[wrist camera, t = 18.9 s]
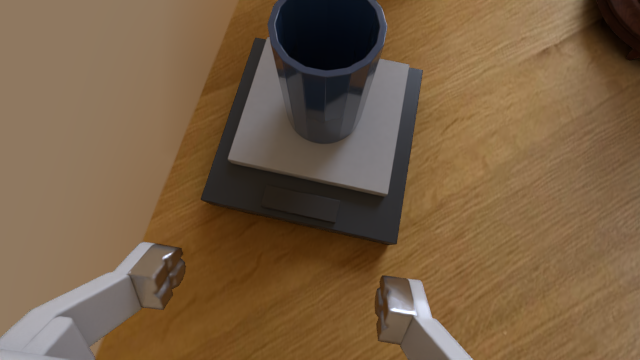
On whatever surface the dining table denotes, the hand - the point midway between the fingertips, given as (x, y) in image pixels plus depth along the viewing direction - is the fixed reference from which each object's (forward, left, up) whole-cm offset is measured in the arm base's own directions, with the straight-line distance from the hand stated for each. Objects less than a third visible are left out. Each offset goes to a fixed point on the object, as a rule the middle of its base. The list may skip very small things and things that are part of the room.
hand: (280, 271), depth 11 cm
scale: (-1, +11, -13) cm, 17 cm away
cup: (-1, +12, -9) cm, 15 cm away
